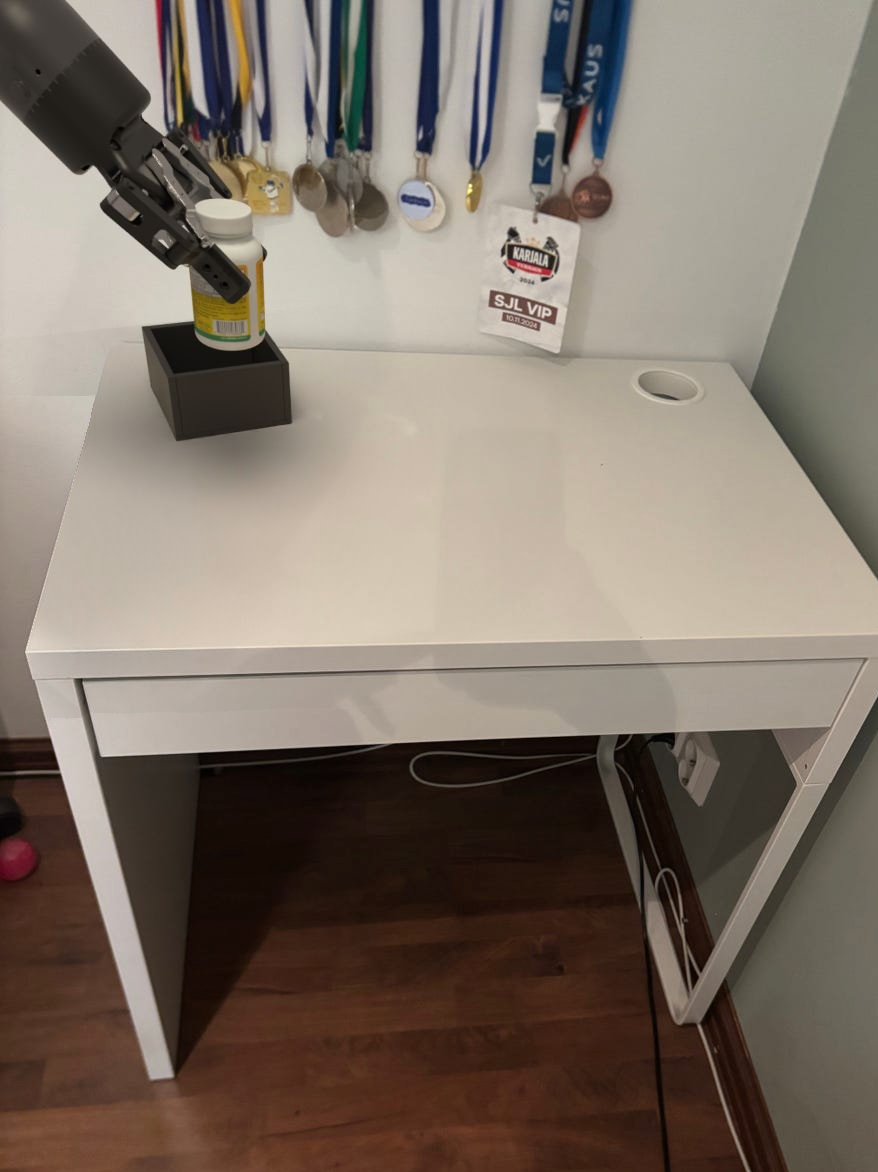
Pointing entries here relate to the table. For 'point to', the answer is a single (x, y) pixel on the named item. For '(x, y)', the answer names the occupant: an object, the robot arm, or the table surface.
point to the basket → (215, 383)
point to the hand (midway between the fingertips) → (250, 278)
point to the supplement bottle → (232, 235)
